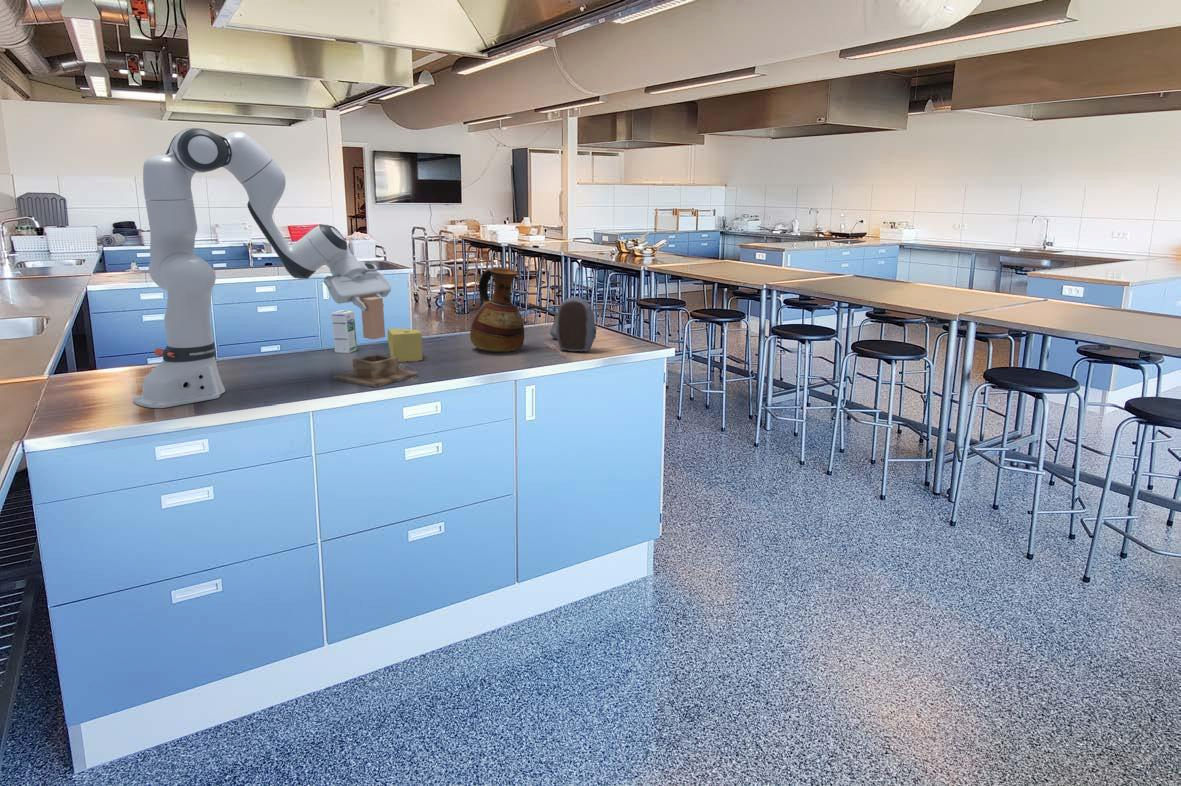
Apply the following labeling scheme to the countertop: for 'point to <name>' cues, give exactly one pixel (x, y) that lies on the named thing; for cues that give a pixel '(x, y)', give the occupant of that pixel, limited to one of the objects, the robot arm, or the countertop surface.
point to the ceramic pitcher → (497, 315)
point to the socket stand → (375, 371)
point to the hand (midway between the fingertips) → (373, 308)
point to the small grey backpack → (575, 325)
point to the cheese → (405, 344)
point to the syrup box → (344, 331)
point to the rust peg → (373, 318)
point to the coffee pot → (553, 328)
